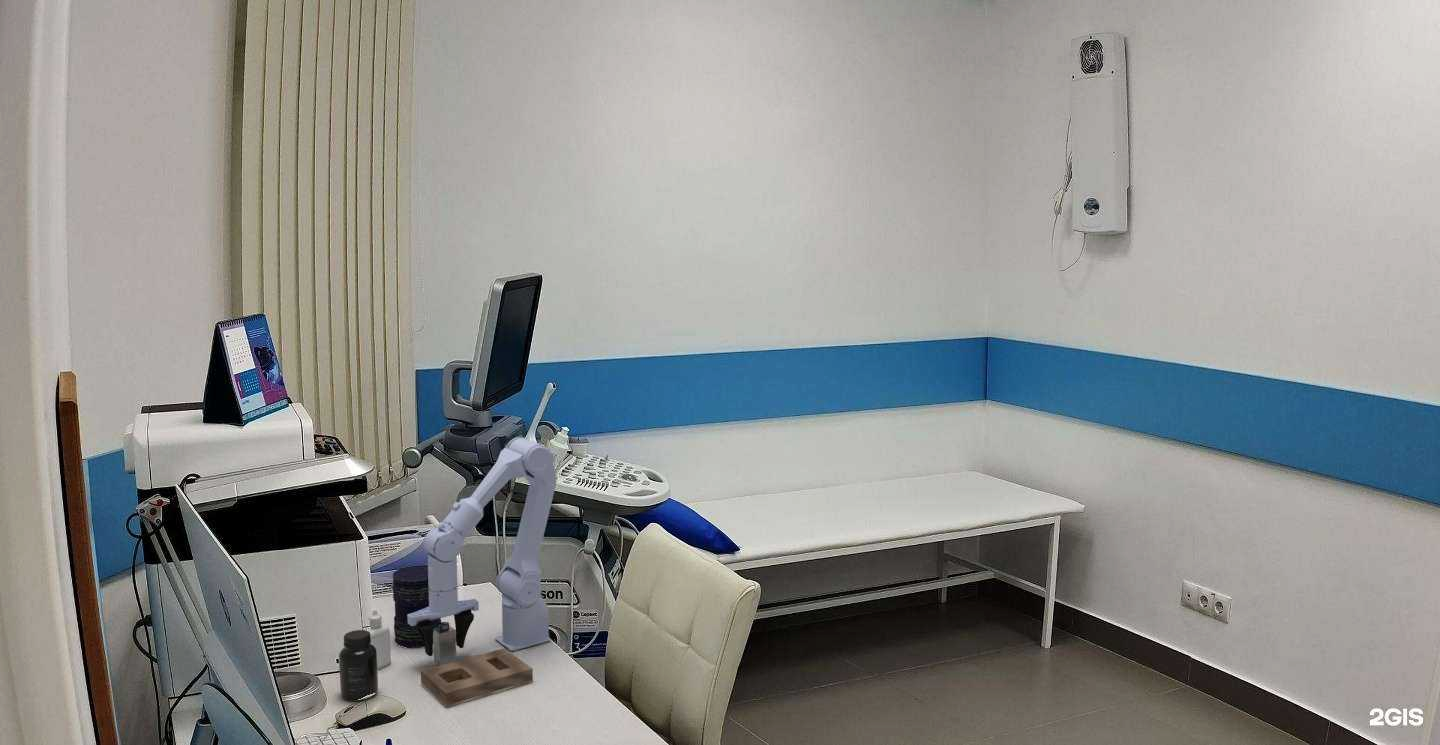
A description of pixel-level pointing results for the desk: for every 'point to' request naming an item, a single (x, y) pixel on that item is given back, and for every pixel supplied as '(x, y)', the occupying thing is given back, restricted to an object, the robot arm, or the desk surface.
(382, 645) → the eye dropper bottle
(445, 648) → the light grey upright block
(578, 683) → the desk surface
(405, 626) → the storage jar
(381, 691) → the desk surface
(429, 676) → the socket board
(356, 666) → the supplement bottle
